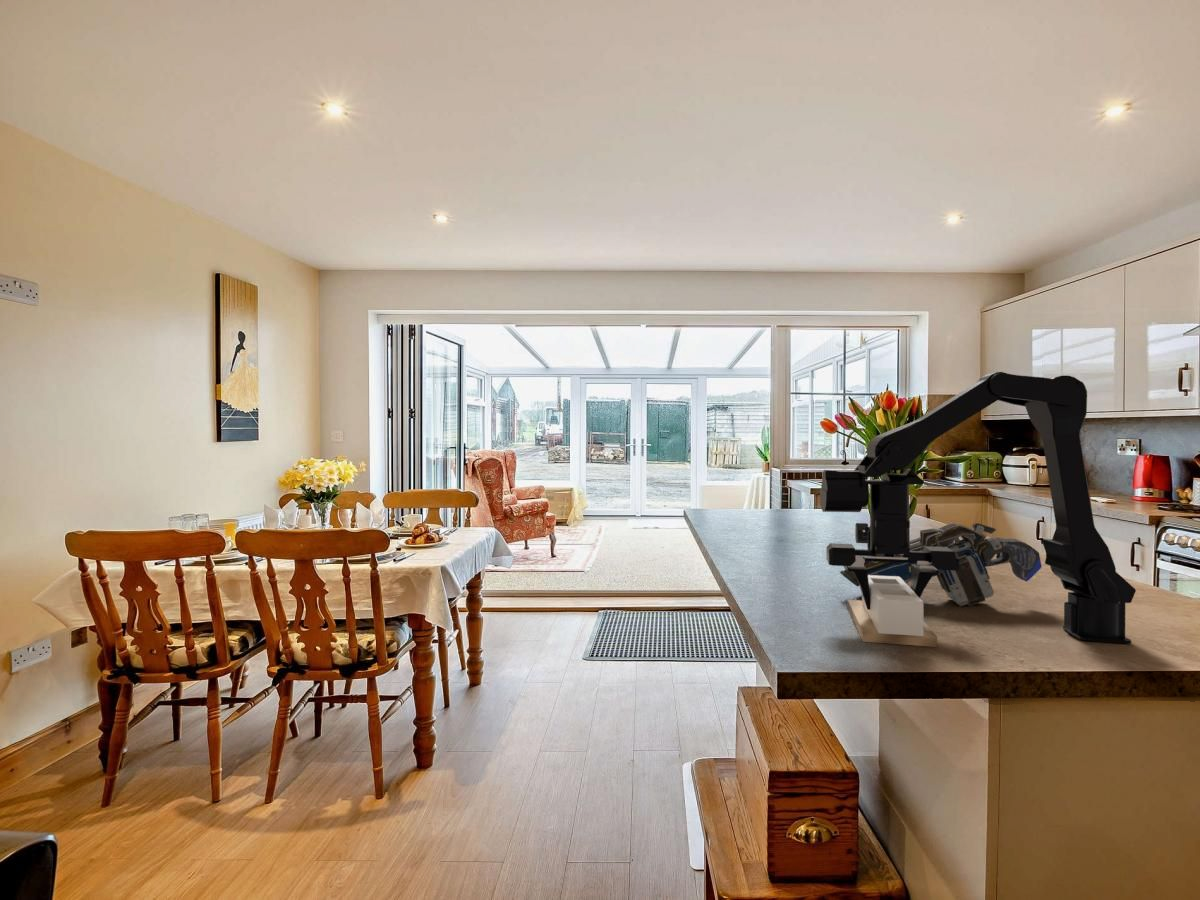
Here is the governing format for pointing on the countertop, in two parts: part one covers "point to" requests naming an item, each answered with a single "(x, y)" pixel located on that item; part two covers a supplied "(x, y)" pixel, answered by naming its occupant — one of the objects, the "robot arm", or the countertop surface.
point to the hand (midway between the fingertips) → (889, 610)
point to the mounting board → (872, 635)
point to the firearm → (964, 561)
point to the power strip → (894, 606)
